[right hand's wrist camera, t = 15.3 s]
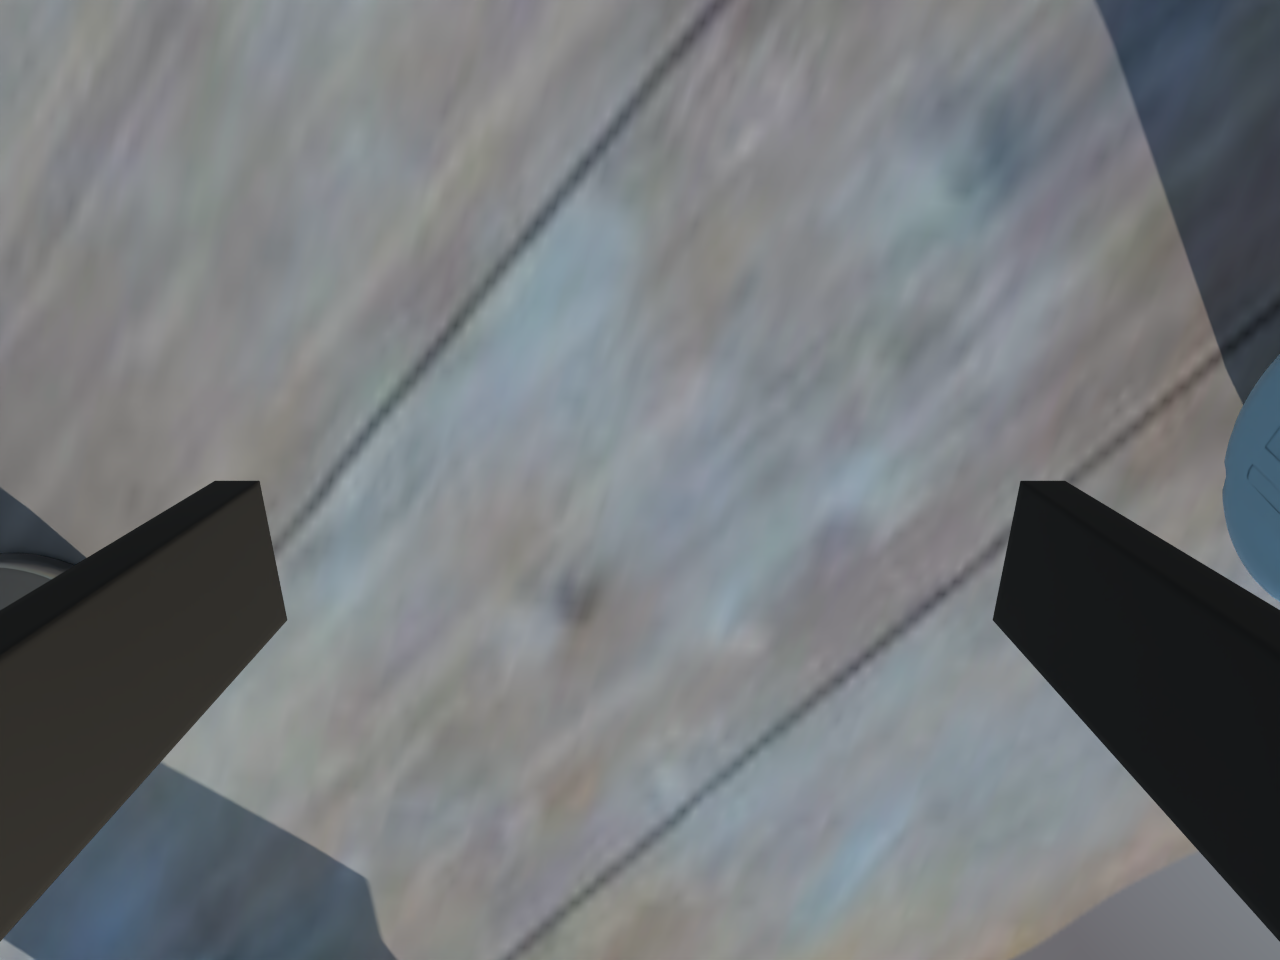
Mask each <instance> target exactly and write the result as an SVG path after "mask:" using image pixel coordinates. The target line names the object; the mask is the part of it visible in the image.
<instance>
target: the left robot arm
mask: <svg viewBox="0 0 1280 960" xmlns="http://www.w3.org/2000/svg"><path fill="white" fill-rule="evenodd" d="M1225 468H1226V479H1225V484H1224V487H1223V506H1224V513H1225V518H1226V523H1227V528H1228V531H1229V534H1230V538H1231V540H1232V543H1233V545H1234V547H1235V549H1236V552H1237V554H1238V556H1239V557H1240V559H1241V561H1242V563H1243V564H1244V566H1245V567H1246V569H1247V570H1248V572H1249V573H1250V574H1251V576H1252V577H1253V578H1254V579H1255V581H1256V582H1257V583H1258V584H1260V585H1261V586H1262V587H1263V589H1264V590H1265V591H1267V592H1268V593H1269V594H1270V595H1271V596H1272V597H1274V598H1275V599H1276V600H1278V601H1279V602H1280V354H1279V355H1278V356H1277V358H1276V359H1275V360H1274V361H1273V362H1272V363H1271V364H1270V366H1269V367H1268V368H1267V369H1266V371H1265V372H1264V373H1263V375H1262V376H1261V377H1260V379H1259V380H1258V382H1257V383H1256V384H1255V386H1254V388H1253V389H1252V391H1251V392H1250V394H1249V396H1248V398H1247V399H1246V401H1245V403H1244V405H1243V407H1242V409H1241V411H1240V413H1239V415H1238V418H1237V420H1236V423H1235V426H1234V429H1233V431H1232V434H1231V437H1230V440H1229V444H1228V448H1227V452H1226V457H1225Z"/></svg>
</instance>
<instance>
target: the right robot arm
mask: <svg viewBox="0 0 1280 960" xmlns="http://www.w3.org/2000/svg"><path fill="white" fill-rule="evenodd" d="M286 621H287V616H286V611H285V606H284V601H283V596H282V591H281V586H280V581H279V576H278V571H277V566H276V561H275V556H274V551H273V546H272V541H271V536H270V531H269V526H268V521H267V516H266V511H265V506H264V501H263V496H262V491H261V486H260V481H214V482H212V483H211V484H209V485H207V486H206V487H204V488H202V489H201V490H199V491H197V492H196V493H194V494H192V495H191V496H189V497H187V498H186V499H184V500H182V501H181V502H179V503H178V504H176V505H174V506H173V507H171V508H169V509H168V510H166V511H164V512H163V513H161V514H159V515H158V516H156V517H154V518H153V519H151V520H149V521H148V522H146V523H144V524H143V525H141V526H139V527H138V528H136V529H134V530H133V531H131V532H129V533H128V534H126V535H124V536H123V537H121V538H119V539H118V540H116V541H114V542H113V543H111V544H109V545H108V546H106V547H104V548H103V549H101V550H99V551H98V552H96V553H95V554H93V555H91V556H90V557H88V558H86V559H85V560H83V561H81V562H80V563H78V564H76V565H75V566H74V565H72V564H69V563H66V562H63V561H60V560H57V559H53V558H49V557H45V556H39V555H33V554H23V553H5V554H0V941H1V940H2V939H3V938H4V937H5V936H6V934H7V933H8V932H9V931H10V930H11V929H12V928H13V927H14V926H15V924H16V923H17V922H18V921H19V920H20V919H21V918H22V917H23V915H24V914H25V913H26V912H27V911H28V910H29V909H30V908H31V906H32V905H33V904H34V903H35V902H36V901H37V900H38V899H39V898H40V896H41V895H42V894H43V893H44V892H45V891H46V890H47V889H48V887H49V886H50V885H51V884H52V883H53V882H54V881H55V880H56V878H57V877H58V876H59V875H60V874H61V873H62V872H63V871H64V870H65V868H66V867H67V866H68V865H69V864H70V863H71V862H72V861H73V859H74V858H75V857H76V856H77V855H78V854H79V853H80V852H81V850H82V849H83V848H84V847H85V846H86V845H87V844H88V843H89V842H90V840H91V839H92V838H93V837H94V836H95V835H96V834H97V833H98V831H99V830H100V829H101V828H102V827H103V826H104V825H105V824H106V822H107V821H108V820H109V819H110V818H111V817H112V816H113V815H114V814H115V812H116V811H117V810H118V809H119V808H120V807H121V806H122V805H123V803H124V802H125V801H126V800H127V799H128V798H129V797H130V796H131V794H132V793H133V792H134V791H135V790H136V789H137V788H138V787H139V785H140V784H141V783H142V782H143V781H144V780H145V779H146V778H147V777H148V775H149V774H150V773H151V772H152V771H153V770H154V769H155V768H156V766H157V765H158V764H159V763H160V762H161V761H162V760H163V759H164V757H165V756H166V755H167V754H168V753H169V752H170V751H171V750H172V749H173V747H174V746H175V745H176V744H177V743H178V742H179V741H180V740H181V738H182V737H183V736H184V735H185V734H186V733H187V732H188V731H189V729H190V728H191V727H192V726H193V725H194V724H195V723H196V722H197V721H198V719H199V718H200V717H201V716H202V715H203V714H204V713H205V712H206V710H207V709H208V708H209V707H210V706H211V705H212V704H213V703H214V701H215V700H216V699H217V698H218V697H219V696H220V695H221V694H222V693H223V691H224V690H225V689H226V688H227V687H228V686H229V685H230V684H231V682H232V681H233V680H234V679H235V678H236V677H237V676H238V675H239V673H240V672H241V671H242V670H243V669H244V668H245V667H246V666H247V665H248V663H249V662H250V661H251V660H252V659H253V658H254V657H255V656H256V654H257V653H258V652H259V651H260V650H261V649H262V648H263V647H264V645H265V644H266V643H267V642H268V641H269V640H270V639H271V638H272V637H273V635H274V634H275V633H276V632H277V631H278V630H279V629H280V628H281V626H282V625H283V624H284V623H285V622H286ZM993 621H994V622H995V623H996V624H997V625H998V626H999V628H1000V629H1001V630H1002V631H1003V632H1004V633H1005V634H1006V635H1007V637H1008V638H1009V639H1010V640H1011V641H1012V642H1013V643H1014V644H1015V645H1016V647H1017V648H1018V649H1019V650H1020V651H1021V652H1022V653H1023V654H1024V656H1025V657H1026V658H1027V659H1028V660H1029V661H1030V662H1031V663H1032V665H1033V666H1034V667H1035V668H1036V669H1037V670H1038V671H1039V672H1040V673H1041V675H1042V676H1043V677H1044V678H1045V679H1046V680H1047V681H1048V682H1049V684H1050V685H1051V686H1052V687H1053V688H1054V689H1055V690H1056V691H1057V693H1058V694H1059V695H1060V696H1061V697H1062V698H1063V699H1064V700H1065V701H1066V703H1067V704H1068V705H1069V706H1070V707H1071V708H1072V709H1073V710H1074V712H1075V713H1076V714H1077V715H1078V716H1079V717H1080V718H1081V719H1082V721H1083V722H1084V723H1085V724H1086V725H1087V726H1088V727H1089V728H1090V729H1091V731H1092V732H1093V733H1094V734H1095V735H1096V736H1097V737H1098V738H1099V740H1100V741H1101V742H1102V743H1103V744H1104V745H1105V746H1106V747H1107V749H1108V750H1109V751H1110V752H1111V753H1112V754H1113V755H1114V756H1115V757H1116V759H1117V760H1118V761H1119V762H1120V763H1121V764H1122V765H1123V766H1124V768H1125V769H1126V770H1127V771H1128V772H1129V773H1130V774H1131V775H1132V777H1133V778H1134V779H1135V780H1136V781H1137V782H1138V783H1139V784H1140V785H1141V787H1142V788H1143V789H1144V790H1145V791H1146V792H1147V793H1148V794H1149V796H1150V797H1151V798H1152V799H1153V800H1154V801H1155V802H1156V803H1157V805H1158V806H1159V807H1160V808H1161V809H1162V810H1163V811H1164V812H1165V814H1166V815H1167V816H1168V817H1169V818H1170V819H1171V820H1172V821H1173V822H1174V824H1175V825H1176V826H1177V827H1178V828H1179V829H1180V830H1181V831H1182V833H1183V834H1184V835H1185V836H1186V837H1187V838H1188V839H1189V840H1190V842H1191V843H1192V844H1193V845H1194V846H1195V847H1196V848H1197V849H1198V850H1199V852H1200V853H1201V854H1202V855H1203V856H1204V857H1205V858H1206V859H1207V860H1208V862H1209V863H1210V864H1211V865H1212V866H1213V867H1214V868H1215V870H1216V871H1217V872H1218V873H1219V874H1220V875H1221V876H1222V877H1223V878H1224V880H1225V881H1226V882H1227V883H1228V884H1229V885H1230V886H1231V887H1232V889H1233V890H1234V891H1235V892H1236V893H1237V894H1238V895H1239V896H1240V898H1241V899H1242V900H1243V901H1244V902H1245V903H1246V904H1247V905H1248V906H1249V908H1250V909H1251V910H1252V911H1253V912H1254V913H1255V914H1256V915H1257V917H1258V918H1259V919H1260V920H1261V921H1262V922H1263V923H1264V924H1265V925H1266V927H1267V928H1268V929H1269V930H1270V931H1271V932H1272V933H1273V934H1274V936H1275V937H1276V938H1277V939H1278V940H1279V941H1280V610H1278V609H1277V608H1275V607H1273V606H1272V605H1270V604H1268V603H1267V602H1265V601H1264V600H1262V599H1260V598H1259V597H1257V596H1255V595H1254V594H1252V593H1250V592H1249V591H1247V590H1245V589H1244V588H1242V587H1240V586H1239V585H1237V584H1235V583H1234V582H1232V581H1230V580H1229V579H1227V578H1225V577H1224V576H1222V575H1220V574H1219V573H1217V572H1215V571H1214V570H1212V569H1210V568H1209V567H1207V566H1205V565H1204V564H1202V563H1200V562H1199V561H1197V560H1195V559H1194V558H1192V557H1190V556H1189V555H1187V554H1185V553H1184V552H1182V551H1181V550H1179V549H1177V548H1176V547H1174V546H1172V545H1171V544H1169V543H1167V542H1166V541H1164V540H1162V539H1161V538H1159V537H1157V536H1156V535H1154V534H1152V533H1151V532H1149V531H1147V530H1146V529H1144V528H1142V527H1141V526H1139V525H1137V524H1136V523H1134V522H1132V521H1131V520H1129V519H1127V518H1126V517H1124V516H1122V515H1121V514H1119V513H1117V512H1116V511H1114V510H1112V509H1111V508H1109V507H1107V506H1106V505H1104V504H1102V503H1101V502H1099V501H1098V500H1096V499H1094V498H1093V497H1091V496H1089V495H1088V494H1086V493H1084V492H1083V491H1081V490H1079V489H1078V488H1076V487H1074V486H1073V485H1071V484H1069V483H1068V482H1066V481H1020V486H1019V491H1018V496H1017V501H1016V506H1015V511H1014V516H1013V521H1012V526H1011V531H1010V536H1009V541H1008V546H1007V551H1006V556H1005V561H1004V566H1003V571H1002V576H1001V581H1000V586H999V591H998V596H997V601H996V606H995V611H994V616H993Z"/></svg>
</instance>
